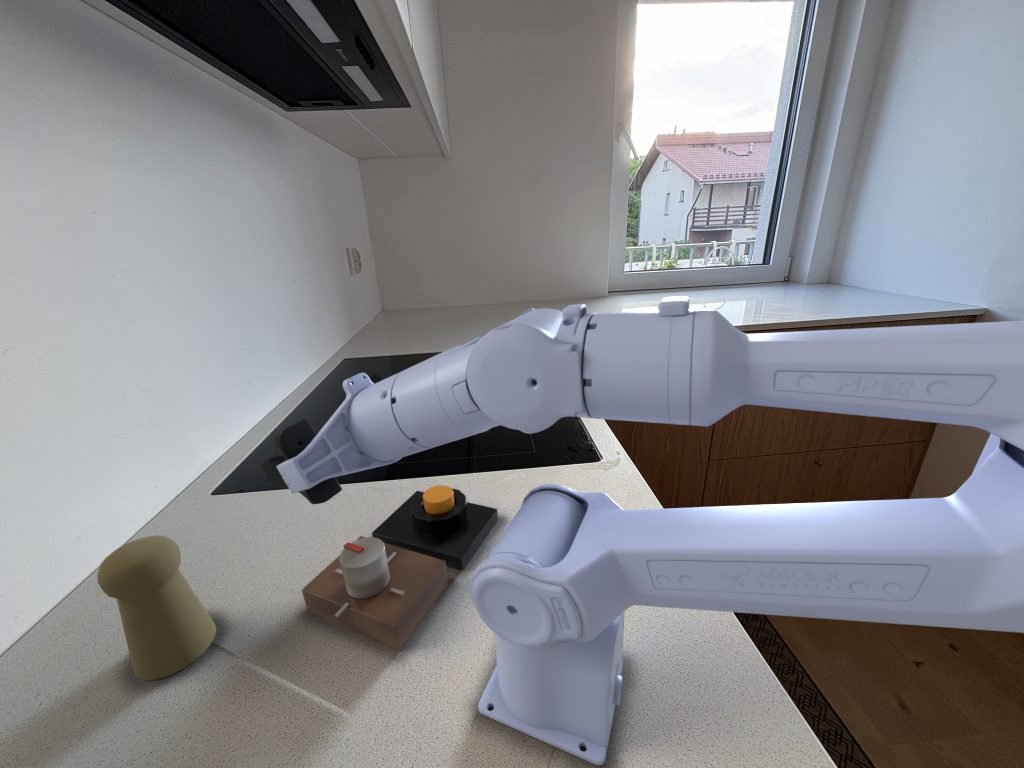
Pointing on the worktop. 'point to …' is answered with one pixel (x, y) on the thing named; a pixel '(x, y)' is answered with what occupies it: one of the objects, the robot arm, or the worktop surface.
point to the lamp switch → (439, 529)
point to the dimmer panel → (381, 597)
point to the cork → (156, 607)
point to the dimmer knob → (364, 567)
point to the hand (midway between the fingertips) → (311, 450)
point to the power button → (438, 499)
